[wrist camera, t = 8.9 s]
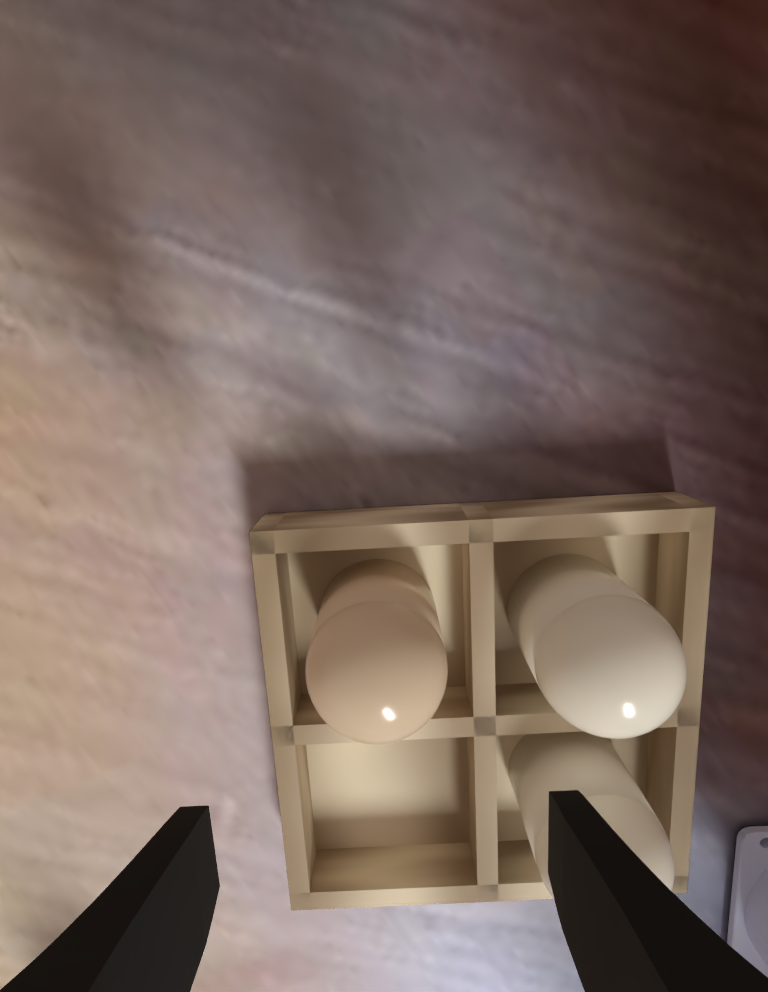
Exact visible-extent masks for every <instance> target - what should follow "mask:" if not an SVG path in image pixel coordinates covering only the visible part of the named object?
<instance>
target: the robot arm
mask: <svg viewBox="0 0 768 992" xmlns="http://www.w3.org/2000/svg"><path fill="white" fill-rule="evenodd" d="M763 838H764V839H763ZM762 839H763V840H762ZM548 875H549V879H550V883H551V887H552V891H553V895H554V899H555V903H556V907H557V911H558V915H559V918H560V922H561V926H562V930H563V932H564V935H565V938H566V941H567V944H568V946H569V949H570V952H571V955H572V958H573V960H574V963H575V966H576V969H577V971H578V974H579V977H580V980H581V982H582V985H583V988H584V991H585V992H768V826H755V827H746V828H743V829H742V830H740V832H739V833H738V835H737V841H736V852H735V862H734V873H733V883H732V894H731V905H730V915H729V926H728V936H727V943H726V942H725V941H724V940H723V939H722V938H720V937H719V936H718V935H717V934H716V933H715V932H714V931H713V930H712V929H711V928H709V927H708V926H707V925H706V924H705V923H704V922H703V921H702V920H701V919H700V918H699V917H698V916H697V915H696V914H694V913H693V912H692V911H691V910H690V909H689V908H688V907H687V906H686V905H685V904H684V903H683V902H682V901H681V900H680V899H679V898H678V897H677V896H676V895H675V894H674V893H673V892H672V891H671V890H670V889H669V888H668V887H667V886H666V885H665V884H664V883H663V882H662V881H661V880H660V879H659V878H658V877H657V876H656V875H655V874H654V873H653V872H652V871H651V870H650V869H649V868H648V867H647V866H646V865H645V863H644V862H643V861H642V860H641V859H640V858H639V857H638V856H637V855H636V854H635V853H634V852H633V851H632V850H631V849H630V848H629V846H628V845H627V844H626V843H625V842H624V841H623V840H622V839H621V838H620V837H619V835H618V834H617V833H616V832H615V831H614V830H613V829H612V828H611V826H610V825H609V824H608V823H607V822H606V821H605V820H604V818H603V817H602V816H601V815H600V814H599V813H598V812H597V810H596V809H595V808H594V807H593V806H592V805H591V803H590V802H589V801H588V800H587V799H586V798H585V796H584V795H583V794H582V793H581V792H580V791H579V790H567V791H549V818H548ZM219 887H220V884H219V877H218V870H217V863H216V855H215V848H214V841H213V834H212V827H211V819H210V812H209V806H189V807H180V808H179V809H178V810H177V811H176V812H175V813H174V814H173V815H172V816H171V817H170V818H169V819H168V821H167V822H166V823H165V824H164V825H163V826H162V827H161V828H160V830H159V831H158V832H157V833H156V834H155V835H154V836H153V837H152V838H151V840H150V841H149V842H148V843H147V844H146V845H145V846H144V847H143V849H142V850H141V851H140V852H139V853H138V854H137V855H136V856H135V857H134V859H133V860H132V861H131V862H130V863H129V864H128V865H127V866H126V867H125V868H124V870H123V871H122V872H121V873H120V874H119V875H118V876H117V877H116V878H115V879H114V880H113V881H112V882H111V884H110V885H109V886H108V887H107V888H106V889H105V890H104V891H103V892H102V893H101V894H100V895H99V896H98V897H97V898H96V900H95V901H94V902H93V903H92V904H91V905H90V906H89V907H88V908H87V909H86V910H85V911H84V912H83V913H82V914H81V915H80V916H79V917H78V918H77V919H76V920H75V921H74V922H73V923H72V924H71V925H70V926H69V927H68V928H67V929H66V930H65V931H64V932H63V933H62V934H61V935H60V936H59V937H58V938H57V939H56V940H55V941H54V942H53V943H52V944H51V945H50V946H48V947H47V948H46V949H45V950H44V951H43V952H42V953H41V954H40V955H39V956H38V957H37V958H36V959H35V960H33V961H32V962H31V963H30V964H29V965H28V966H27V967H26V968H25V969H23V970H22V971H21V972H20V973H19V974H18V975H17V976H16V977H14V978H13V979H12V980H11V981H10V982H9V983H8V984H6V985H5V986H4V987H3V988H2V989H1V990H0V992H190V990H191V987H192V984H193V981H194V978H195V975H196V972H197V969H198V966H199V963H200V961H201V958H202V955H203V952H204V949H205V946H206V942H207V938H208V934H209V930H210V926H211V922H212V918H213V914H214V909H215V905H216V900H217V896H218V891H219Z"/></svg>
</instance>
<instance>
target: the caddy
mask: <svg viewBox="0 0 768 992" xmlns="http://www.w3.org/2000/svg"><path fill="white" fill-rule="evenodd" d="M714 520H715V507H714V506H712V505H709V504H707V503H704V502H702V501H699V500H696V499H694V498H691V497H689V496H686V495H684V494H681V493H679V492H658V493H639V494H621V495H602V496H583V497H565V498H546V499H528V500H509V501H491V502H472V503H454V504H435V505H416V506H398V507H379V508H361V509H342V510H324V511H305V512H286V513H268V514H264V515H263V517H262V518H261V519H260V520H259V521H258V522H257V523H256V525H255V526H254V527H253V528H252V529H251V530H250V531H249V537H250V545H251V554H252V563H253V572H254V581H255V590H256V599H257V608H258V617H259V626H260V635H261V644H262V653H263V662H264V671H265V680H266V689H267V697H268V706H269V715H270V724H271V733H272V742H273V751H274V760H275V769H276V778H277V787H278V796H279V805H280V814H281V823H282V832H283V841H284V850H285V858H286V867H287V876H288V885H289V894H290V903H291V910H312V909H335V908H357V907H380V906H403V905H426V904H448V903H471V902H494V901H516V900H539V899H553V897H552V896H551V894H550V893H549V892H548V890H547V888H546V886H545V885H544V883H543V881H542V879H541V876H540V874H539V871H538V868H537V865H536V862H535V858H534V855H533V852H532V849H531V846H530V842H529V839H528V836H527V833H526V830H525V826H524V823H523V820H522V817H521V813H520V810H519V807H518V804H517V801H516V797H515V794H514V791H513V788H512V785H511V781H510V778H509V762H510V758H511V755H512V752H513V750H514V748H515V747H516V745H517V744H518V742H519V741H520V740H521V739H522V738H523V737H524V736H525V735H526V734H540V733H561V732H582V730H580V729H578V728H576V727H575V726H573V725H572V724H570V723H569V722H567V721H566V720H564V719H563V718H562V717H561V716H560V715H559V714H558V713H557V712H556V711H555V710H554V709H553V708H552V707H551V705H550V704H549V703H548V701H547V700H546V698H545V697H544V695H543V693H542V692H541V690H540V688H539V686H538V684H537V682H536V680H535V678H534V676H533V674H532V672H531V670H530V668H529V666H528V664H527V662H526V660H525V658H524V656H523V654H522V652H521V650H520V648H519V646H518V644H517V642H516V640H515V638H514V636H513V634H512V631H511V629H510V626H509V623H508V617H507V606H508V600H509V596H510V593H511V591H512V588H513V586H514V585H515V583H516V581H517V580H518V579H519V577H520V576H521V575H522V574H523V573H524V572H525V571H526V570H527V569H528V568H530V567H531V566H532V565H534V564H535V563H537V562H539V561H541V560H543V559H545V558H548V557H551V556H554V555H560V554H578V555H583V556H587V557H590V558H592V559H594V560H596V561H598V562H600V563H601V564H603V565H604V566H605V567H606V568H608V569H609V570H610V571H611V572H612V573H614V574H615V575H616V576H617V577H618V578H619V579H621V580H622V581H623V582H624V583H625V584H627V585H628V586H629V587H630V588H631V589H632V590H634V591H635V592H636V593H637V594H638V595H639V596H641V597H642V598H643V599H644V600H645V601H647V602H648V603H649V604H650V605H651V606H652V607H654V608H655V609H656V610H657V611H658V612H659V613H660V614H661V615H662V616H663V617H664V618H665V619H666V620H667V621H668V622H669V624H670V625H671V626H672V628H673V629H674V631H675V633H676V634H677V636H678V638H679V640H680V642H681V645H682V647H683V650H684V654H685V658H686V667H687V680H686V686H685V690H684V694H683V696H682V699H681V701H680V703H679V705H678V707H677V708H676V710H675V711H674V713H673V714H672V715H671V716H670V717H669V718H668V719H667V720H666V721H665V722H664V723H663V724H662V725H660V726H659V727H657V728H656V729H654V730H652V731H650V732H648V733H646V734H643V735H640V736H637V737H633V738H626V739H613V738H608V739H609V740H610V742H611V743H612V745H613V746H614V748H615V750H616V751H617V753H618V755H619V756H620V758H621V759H622V761H623V763H624V764H625V766H626V768H627V769H628V771H629V772H630V774H631V776H632V777H633V779H634V781H635V782H636V784H637V785H638V787H639V789H640V790H641V792H642V794H643V795H644V797H645V798H646V800H647V802H648V803H649V805H650V807H651V808H652V810H653V811H654V813H655V815H656V816H657V818H658V820H659V821H660V823H661V824H662V826H663V828H664V830H665V832H666V835H667V837H668V840H669V843H670V845H671V850H672V854H673V859H674V883H673V888H672V892H673V893H674V894H675V893H687V887H688V873H689V860H690V846H691V832H692V819H693V805H694V792H695V778H696V765H697V751H698V737H699V724H700V710H701V697H702V683H703V670H704V656H705V642H706V629H707V615H708V602H709V588H710V575H711V561H712V548H713V534H714ZM370 559H386V560H392V561H396V562H399V563H401V564H404V565H406V566H408V567H409V568H411V569H412V570H414V571H415V572H416V573H418V574H419V575H420V576H421V577H422V578H423V580H424V581H425V582H426V583H427V585H428V587H429V588H430V590H431V592H432V595H433V598H434V602H435V606H436V610H437V615H438V619H439V624H440V628H441V633H442V637H443V642H444V646H445V651H446V655H447V665H448V677H447V683H446V689H445V692H444V695H443V698H442V700H441V703H440V705H439V707H438V709H437V710H436V712H435V713H434V715H433V716H432V717H431V719H430V720H429V721H428V722H427V723H426V724H425V725H424V726H423V727H422V728H421V729H420V730H418V731H417V732H416V733H414V734H412V735H411V736H409V737H407V738H405V739H403V740H400V741H397V742H394V743H389V744H383V745H370V744H363V743H359V742H355V741H353V740H350V739H348V738H346V737H344V736H342V735H340V734H339V733H337V732H336V731H334V730H333V729H332V728H331V727H330V726H329V725H327V723H326V722H325V721H324V720H323V719H322V718H321V716H320V715H319V714H318V712H317V710H316V709H315V707H314V705H313V703H312V701H311V698H310V695H309V692H308V689H307V683H306V675H305V666H306V658H307V652H308V649H309V645H310V642H311V638H312V635H313V631H314V628H315V624H316V621H317V617H318V614H319V610H320V607H321V603H322V600H323V596H324V594H325V591H326V589H327V587H328V586H329V584H330V583H331V581H332V580H333V579H334V578H335V577H336V576H337V575H338V574H339V573H340V572H341V571H343V570H344V569H345V568H347V567H349V566H351V565H353V564H355V563H358V562H360V561H364V560H370Z"/></svg>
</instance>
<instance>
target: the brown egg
mask: <svg viewBox="0 0 768 992" xmlns="http://www.w3.org/2000/svg"><path fill="white" fill-rule="evenodd" d="M305 675H306V683H307V689H308V692H309V695H310V698H311V701H312V703H313V705H314V707H315V709H316V710H317V712H318V714H319V715H320V716H321V718H322V719H323V720H324V721H325V722H326V723H327V725H329V726H330V727H331V728H332V729H333V730H334V731H336V732H337V733H339V734H340V735H342V736H344V737H346V738H348V739H350V740H353V741H355V742H359V743H363V744H370V745H383V744H389V743H394V742H397V741H400V740H403V739H405V738H407V737H409V736H411V735H412V734H414V733H416V732H417V731H418V730H420V729H421V728H422V727H423V726H424V725H425V724H426V723H427V722H428V721H429V720H430V719H431V717H432V716H433V715H434V713H435V712H436V710H437V709H438V707H439V705H440V703H441V700H442V698H443V695H444V692H445V689H446V683H447V677H448V665H447V655H446V651H445V646H444V642H443V637H442V633H441V628H440V624H439V619H438V615H437V610H436V606H435V602H434V598H433V595H432V592H431V590H430V588H429V587H428V585H427V583H426V582H425V581H424V580H423V578H422V577H421V576H420V575H419V574H418V573H416V572H415V571H414V570H412V569H411V568H409V567H408V566H406V565H404V564H401V563H399V562H396V561H392V560H386V559H370V560H364V561H360V562H358V563H355V564H353V565H351V566H349V567H347V568H345V569H344V570H343V571H341V572H340V573H339V574H338V575H337V576H336V577H335V578H334V579H333V580H332V581H331V583H330V584H329V586H328V587H327V589H326V591H325V594H324V596H323V600H322V603H321V607H320V610H319V614H318V617H317V621H316V624H315V628H314V631H313V635H312V638H311V642H310V645H309V649H308V652H307V658H306V666H305Z"/></svg>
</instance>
